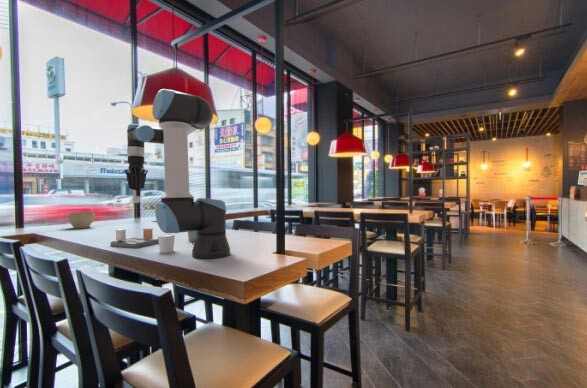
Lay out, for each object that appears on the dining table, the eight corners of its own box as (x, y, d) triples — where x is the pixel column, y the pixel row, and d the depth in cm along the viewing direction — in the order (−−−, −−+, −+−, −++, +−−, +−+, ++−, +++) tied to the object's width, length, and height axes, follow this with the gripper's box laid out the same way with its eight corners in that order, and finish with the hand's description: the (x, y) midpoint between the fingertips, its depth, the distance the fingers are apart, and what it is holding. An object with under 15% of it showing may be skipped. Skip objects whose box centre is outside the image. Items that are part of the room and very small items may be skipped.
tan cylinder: (152, 238, 150) (152, 228, 150) (148, 239, 147) (148, 229, 147) (147, 238, 151) (147, 228, 151) (143, 238, 149) (143, 228, 148)
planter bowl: (77, 226, 221) (76, 211, 221) (99, 226, 222) (99, 211, 222) (61, 229, 205) (61, 213, 205) (86, 229, 206) (85, 213, 206)
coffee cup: (198, 242, 153) (198, 219, 152) (182, 242, 154) (182, 218, 154) (206, 240, 161) (206, 217, 161) (191, 239, 163) (191, 217, 162)
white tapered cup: (164, 253, 127) (164, 237, 127) (154, 251, 130) (154, 235, 130) (178, 250, 133) (178, 234, 132) (168, 249, 136) (168, 233, 136)
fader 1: (126, 239, 147) (125, 229, 147) (121, 240, 144) (120, 230, 144) (120, 239, 148) (120, 229, 148) (115, 240, 145) (115, 229, 145)
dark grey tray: (159, 243, 151) (159, 238, 151) (136, 248, 138) (136, 243, 138) (134, 241, 157) (134, 237, 157) (110, 246, 143) (110, 241, 143)
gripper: (152, 156, 153) (152, 202, 153) (132, 157, 157) (132, 202, 157) (140, 154, 145) (140, 203, 146) (119, 155, 150) (120, 202, 150)
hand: (136, 202), depth 151 cm, fingers closed
